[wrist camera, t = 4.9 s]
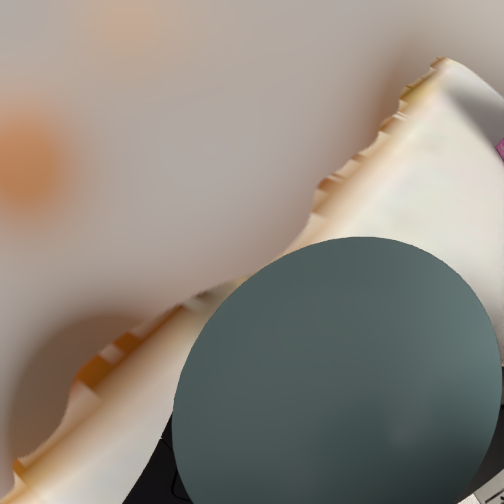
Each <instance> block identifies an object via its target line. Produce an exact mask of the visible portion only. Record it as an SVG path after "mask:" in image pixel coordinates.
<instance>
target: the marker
mask: <svg viewBox="0 0 504 504" xmlns="http://www.w3.org/2000/svg"><path fill="white" fill-rule="evenodd" d="M501 394H502V367H501V359H500V352H499V347H498V343H497V339H496V335H495V332H494V330H493V327H492V324H491V322H490V319H489V317H488V315H487V313H486V311H485V309H484V307H483V305H482V303H481V302H480V300H479V299H478V297H477V296H476V294H475V293H474V292H473V290H472V289H471V287H470V286H469V285H468V284H467V283H466V282H465V281H464V280H463V279H462V277H461V276H460V275H459V274H458V273H456V272H455V271H454V270H453V269H452V268H451V267H449V266H448V265H447V264H446V263H444V262H443V261H441V260H440V259H438V258H437V257H435V256H433V255H432V254H430V253H428V252H426V251H424V250H422V249H419V248H417V247H415V246H413V245H409V244H406V243H403V242H399V241H396V240H391V239H384V238H377V237H347V238H340V239H332V240H328V241H324V242H320V243H316V244H313V245H309V246H306V247H304V248H301V249H299V250H297V251H294V252H292V253H289V254H287V255H285V256H283V257H281V258H280V259H278V260H276V261H274V262H273V263H271V264H269V265H267V266H266V267H264V268H262V269H261V270H260V271H259V272H257V273H256V274H255V275H253V276H252V277H251V278H249V279H248V280H247V281H245V282H244V283H243V284H242V285H241V286H239V287H238V288H237V289H236V290H235V291H234V292H233V293H232V294H231V295H230V296H229V297H228V298H227V299H226V300H225V301H224V302H223V303H222V304H221V306H220V307H219V308H218V310H217V311H216V312H215V313H214V315H213V316H212V317H211V318H210V320H209V321H208V322H207V323H206V325H205V326H204V328H203V330H202V331H201V333H200V335H199V336H198V338H197V340H196V342H195V343H194V345H193V347H192V348H191V351H190V353H189V355H188V358H187V360H186V362H185V365H184V367H183V369H182V372H181V375H180V379H179V383H178V386H177V390H176V394H175V398H174V406H173V415H172V440H173V451H174V455H175V460H176V464H177V469H178V472H179V475H180V477H181V480H182V482H183V484H184V487H185V489H186V492H187V493H188V495H189V497H190V498H191V500H192V502H193V503H194V504H453V503H454V502H455V500H456V499H457V498H458V497H459V496H460V495H461V493H462V492H463V491H464V489H465V488H466V487H467V485H468V484H469V483H470V481H471V480H472V478H473V477H474V475H475V473H476V472H477V470H478V468H479V466H480V465H481V463H482V461H483V459H484V457H485V454H486V452H487V450H488V448H489V445H490V443H491V440H492V437H493V434H494V431H495V428H496V424H497V420H498V415H499V410H500V403H501Z"/></svg>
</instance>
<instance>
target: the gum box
mask: <svg viewBox="0 0 504 504" xmlns="http://www.w3.org/2000/svg"><path fill="white" fill-rule="evenodd" d="M496 149H497V150H498V152H499V153H500V155H501V156H502V158H503V160H504V138H503V139H502V141H501V142H500V143H499V144H498V145H497V146H496Z"/></svg>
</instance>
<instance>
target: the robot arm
mask: <svg viewBox="0 0 504 504" xmlns="http://www.w3.org/2000/svg"><path fill="white" fill-rule="evenodd" d="M501 367H502V394H501V403H500V410H499V415H498V420H497V424H496V428H495V431H494V434H493V437H492V440H491V443H490V445H489V448H488V450H487V452H486V454H485V457H484V459H483V461H482V463H481V465H480V466H479V468H478V470H477V472H476V473H475V475H474V477H473V478H472V480H471V481H470V483H469V484H468V485H467V487H466V488H465V489H464V491H463V492H462V493H461V495H460V496H459V497H458V498H457V499H456V500H455V502H454V503H453V504H458V503H459V502H461V501H462V500H464V499H465V498H467V497H468V496H470V495H471V494H472V493H473V494H474V496H475V497H476V499H477V500H478V502H479V503H480V504H504V366H501ZM172 415H173V412H172V414H171V416H170V418H169V421H168V423H167V425H166V427H165V429H164V431H163V433H162V436H161V438H162V439H160V440H159V442H158V444H157V446H156V448H155V450H154V452H153V454H152V456H151V458H150V460H149V462H148V464H147V465H146V467H145V469H144V470H143V472H142V474H141V475H140V477H139V479H138V480H137V482H136V483H135V485H134V486H133V488H132V489H131V491H130V492H129V494H128V496H127V497H126V499H125V500H124V502H123V503H122V504H194V503H193V502H192V500H191V498H190V497H189V495H188V493H187V492H186V489H185V487H184V484H183V482H182V480H181V477H180V475H179V472H178V469H177V464H176V460H175V455H174V451H173V440H172Z"/></svg>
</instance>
